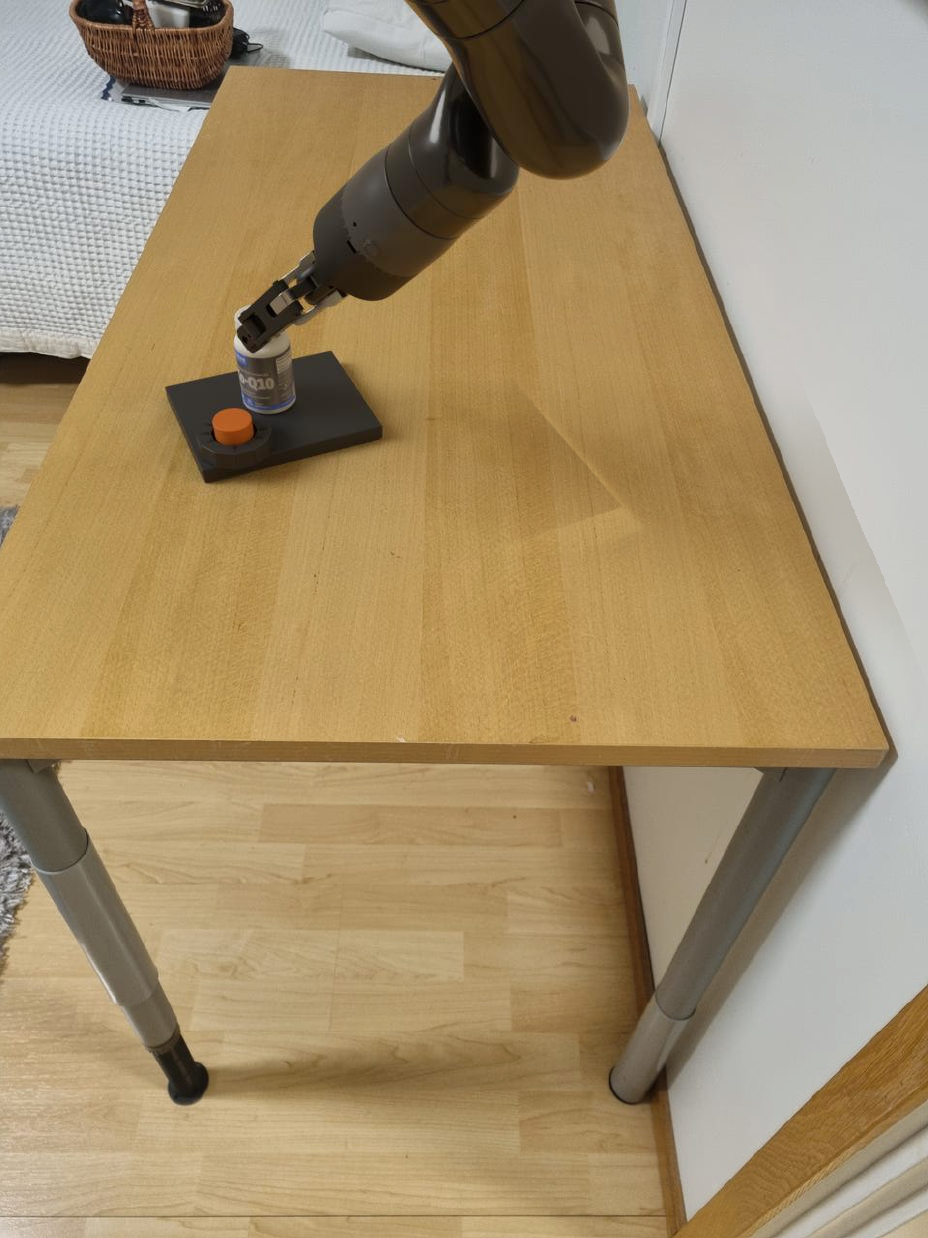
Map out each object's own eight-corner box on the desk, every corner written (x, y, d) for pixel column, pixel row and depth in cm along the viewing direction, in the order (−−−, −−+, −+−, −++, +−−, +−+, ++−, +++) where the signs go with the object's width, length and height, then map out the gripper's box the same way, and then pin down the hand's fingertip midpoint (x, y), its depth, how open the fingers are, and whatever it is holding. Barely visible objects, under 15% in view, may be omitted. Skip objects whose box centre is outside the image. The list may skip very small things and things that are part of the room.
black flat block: (208, 491, 77) (202, 462, 75) (167, 399, 86) (160, 370, 83) (387, 445, 82) (386, 417, 80) (332, 362, 91) (330, 334, 88)
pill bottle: (232, 407, 83) (217, 322, 76) (260, 380, 86) (247, 295, 79) (280, 421, 82) (268, 335, 75) (306, 392, 85) (297, 308, 78)
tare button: (221, 450, 77) (218, 434, 76) (210, 428, 79) (207, 413, 77) (258, 440, 78) (256, 425, 77) (247, 419, 80) (245, 404, 78)
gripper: (422, 137, 66) (312, 245, 79) (288, 207, 58) (189, 315, 71) (480, 232, 68) (364, 322, 81) (358, 312, 60) (250, 398, 73)
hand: (282, 319), depth 76 cm, fingers open, 8 cm apart
